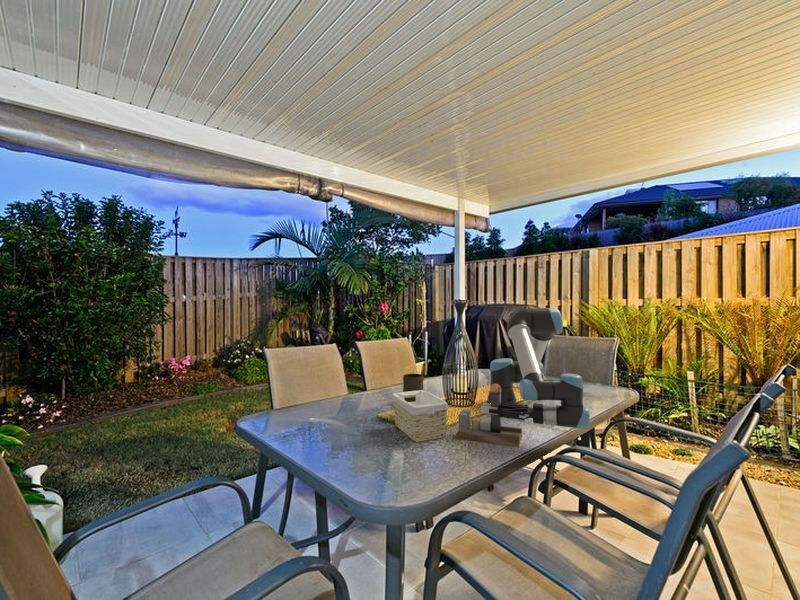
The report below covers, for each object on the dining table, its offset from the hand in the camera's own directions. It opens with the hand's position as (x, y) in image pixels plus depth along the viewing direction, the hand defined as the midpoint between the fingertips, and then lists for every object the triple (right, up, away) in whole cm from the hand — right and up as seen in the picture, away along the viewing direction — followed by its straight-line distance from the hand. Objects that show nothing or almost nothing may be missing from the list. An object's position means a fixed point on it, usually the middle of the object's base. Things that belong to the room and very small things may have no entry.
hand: (482, 407), depth 151 cm
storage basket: (-25, -12, +6) cm, 29 cm away
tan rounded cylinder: (-2, -10, +1) cm, 10 cm away
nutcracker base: (+3, -11, -1) cm, 12 cm away
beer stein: (-26, -12, +31) cm, 42 cm away
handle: (+4, -9, -2) cm, 10 cm away
